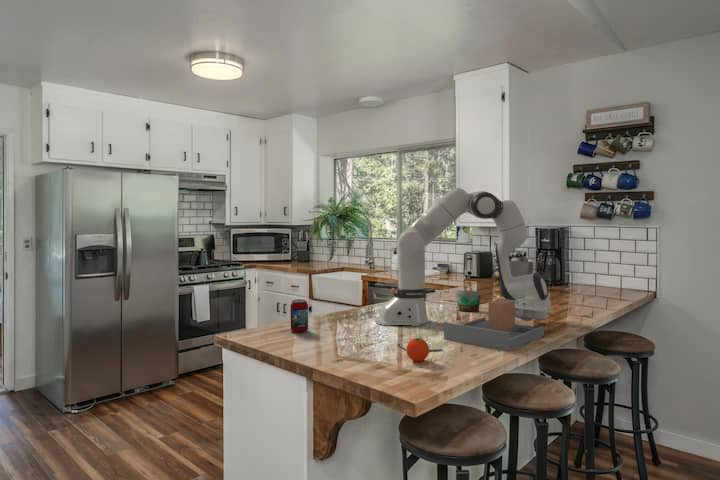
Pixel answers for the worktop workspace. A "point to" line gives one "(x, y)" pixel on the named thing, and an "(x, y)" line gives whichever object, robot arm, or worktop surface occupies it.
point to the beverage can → (299, 316)
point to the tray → (491, 334)
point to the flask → (521, 267)
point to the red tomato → (417, 349)
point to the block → (501, 315)
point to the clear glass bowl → (426, 342)
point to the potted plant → (468, 300)
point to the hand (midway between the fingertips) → (512, 313)
